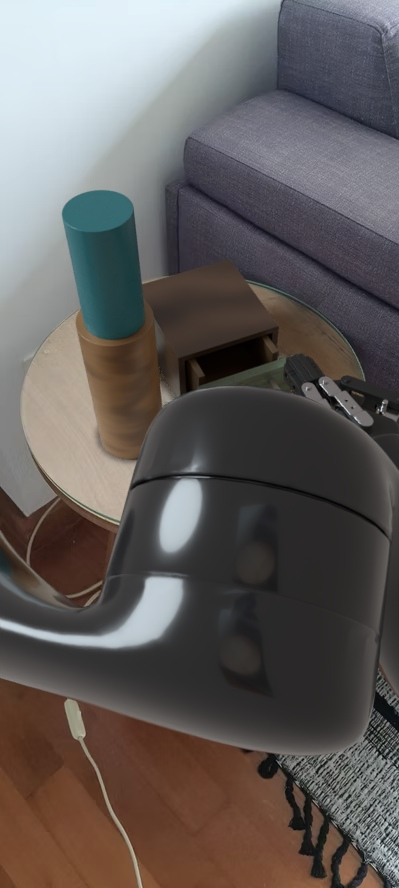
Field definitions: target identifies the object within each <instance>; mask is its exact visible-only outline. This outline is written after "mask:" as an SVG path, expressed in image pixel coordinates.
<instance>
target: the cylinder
mask: <svg viewBox="0 0 399 888" xmlns="http://www.w3.org/2000/svg"><path fill="white" fill-rule="evenodd" d="M61 218H62V219H61V220H62V223H63V229H64V233H65V239H66V242H67V247H68V252H69V253H68V254H69V258H70V262H71V267H72V273H73V277H74V282H75V286H76V287H75V288H76V291H77V296H78V297H77V298H78V301H79V306H80V309H81V312H82V316H83V321H84V325H85V328H86V329H87V330H88V332H90V333H91V334H92V335H94V336H96V337H98V338H101V339H107V340H117V339H122V338H126V337H128V336H131V335H133V334H134V333H136V332H137V331H138V330H139V329H140V328H141V327H142V326H143V324H144V321H145V307H144V298H143V289H142V284H143V281H142V273H141V262H140V255H139V253H140V252H139V245H138V236H137V225H136V217H135V208H134V203H133V202H132V200H131V199H130V198H129V197H128V196H126V195H125V194H123V193H121V192H118V191H114V190H108V189H94V190H89V191H85V192H82V193H79V194H77V195H75V196H73V197H71V198H70V199H68V201H67V202H66V203H65V204H64V205H63V208H62V210H61Z"/></svg>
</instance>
